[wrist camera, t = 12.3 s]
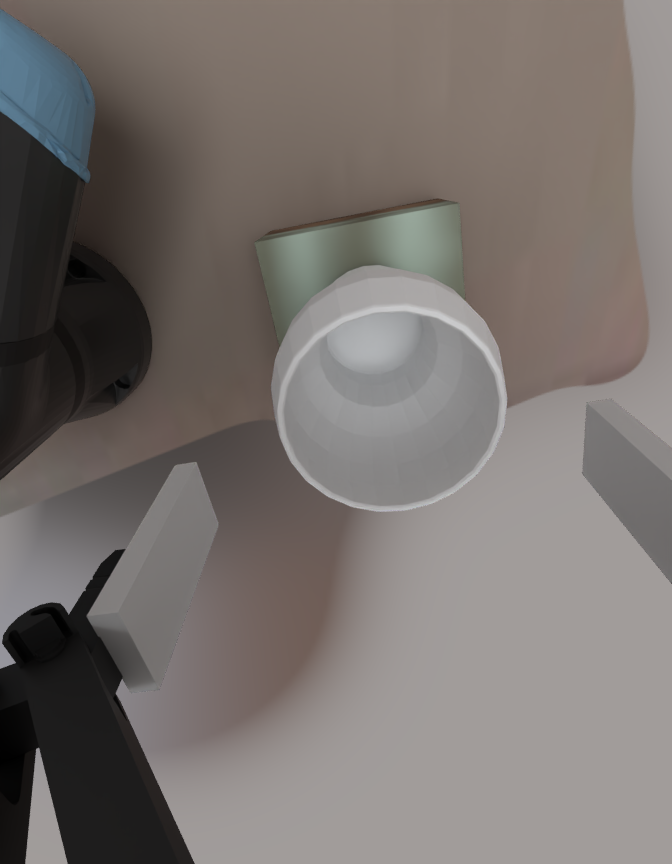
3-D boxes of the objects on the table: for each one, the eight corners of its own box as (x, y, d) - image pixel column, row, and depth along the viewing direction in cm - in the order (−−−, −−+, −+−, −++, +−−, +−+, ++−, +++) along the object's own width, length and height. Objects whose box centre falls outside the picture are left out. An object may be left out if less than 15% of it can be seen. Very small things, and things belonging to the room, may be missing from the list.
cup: (443, 225, 31) (519, 262, 17) (456, 381, 35) (524, 504, 22) (278, 259, 32) (230, 318, 18) (313, 405, 36) (295, 537, 23)
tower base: (305, 383, 44) (297, 422, 37) (271, 230, 38) (254, 242, 31) (449, 359, 43) (470, 395, 36) (437, 198, 37) (459, 202, 30)
